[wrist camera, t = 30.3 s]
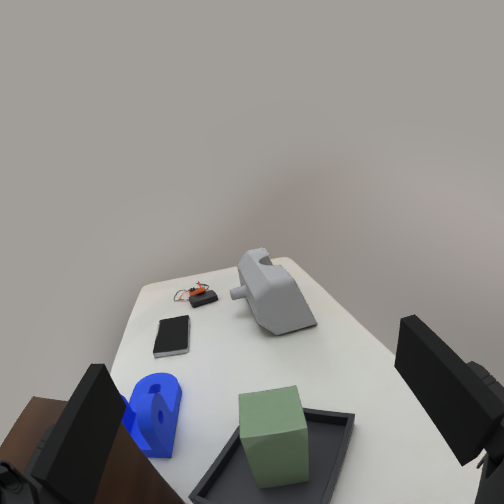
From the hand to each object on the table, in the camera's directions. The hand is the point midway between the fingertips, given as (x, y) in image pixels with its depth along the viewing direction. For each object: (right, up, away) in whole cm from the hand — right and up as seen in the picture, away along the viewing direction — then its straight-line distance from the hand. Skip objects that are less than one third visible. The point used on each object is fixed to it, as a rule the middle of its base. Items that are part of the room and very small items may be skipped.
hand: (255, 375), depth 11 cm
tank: (+4, -9, +58) cm, 59 cm away
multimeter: (-18, -8, +74) cm, 76 cm away
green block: (+3, -21, +17) cm, 27 cm away
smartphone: (-18, -15, +52) cm, 57 cm away
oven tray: (+3, -22, +17) cm, 28 cm away
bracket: (-16, -22, +28) cm, 39 cm away
